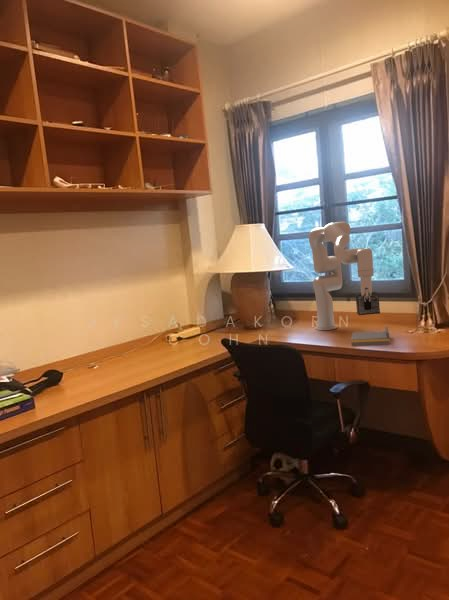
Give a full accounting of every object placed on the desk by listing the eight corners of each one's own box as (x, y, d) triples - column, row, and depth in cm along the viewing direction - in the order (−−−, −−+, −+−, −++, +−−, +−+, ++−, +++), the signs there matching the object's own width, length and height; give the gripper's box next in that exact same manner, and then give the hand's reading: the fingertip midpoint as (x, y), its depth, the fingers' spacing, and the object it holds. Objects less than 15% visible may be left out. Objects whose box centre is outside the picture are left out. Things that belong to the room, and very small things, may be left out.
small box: (377, 311, 247) (376, 291, 245) (380, 313, 240) (379, 293, 239) (356, 313, 248) (355, 293, 247) (358, 315, 242) (357, 294, 240)
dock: (352, 338, 256) (351, 328, 255) (388, 336, 251) (387, 326, 250) (351, 345, 241) (351, 335, 240) (389, 344, 235) (389, 333, 235)
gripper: (358, 272, 251) (360, 305, 253) (357, 275, 234) (360, 311, 237) (373, 271, 249) (375, 305, 251) (373, 274, 232) (376, 310, 234)
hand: (368, 308), depth 244 cm, fingers closed on small box, 7 cm apart
